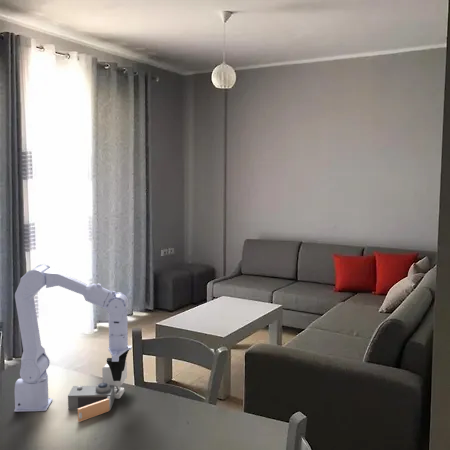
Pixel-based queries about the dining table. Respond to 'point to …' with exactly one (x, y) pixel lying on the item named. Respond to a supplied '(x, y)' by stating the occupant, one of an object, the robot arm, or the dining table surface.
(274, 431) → the dining table surface
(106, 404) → the hatch
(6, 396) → the dining table surface
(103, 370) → the security camera
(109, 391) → the housing
